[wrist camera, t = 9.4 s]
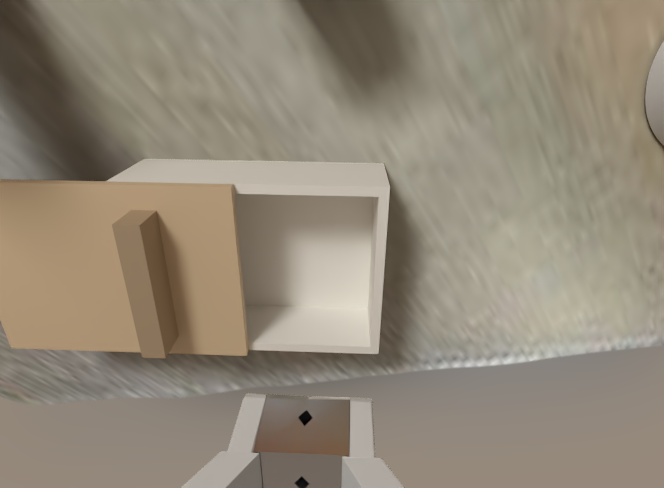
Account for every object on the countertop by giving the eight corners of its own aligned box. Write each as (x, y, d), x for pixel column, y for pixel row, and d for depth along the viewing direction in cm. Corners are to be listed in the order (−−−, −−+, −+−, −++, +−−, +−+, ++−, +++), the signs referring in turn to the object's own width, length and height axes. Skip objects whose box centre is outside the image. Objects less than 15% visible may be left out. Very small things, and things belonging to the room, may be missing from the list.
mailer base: (383, 163, 39) (390, 187, 33) (374, 310, 46) (378, 354, 40) (144, 158, 40) (105, 181, 33) (170, 304, 47) (142, 346, 40)
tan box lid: (233, 184, 33) (219, 200, 30) (248, 350, 40) (239, 379, 36) (-45, 178, 34) (-90, 194, 30) (17, 342, 41) (-14, 370, 37)
